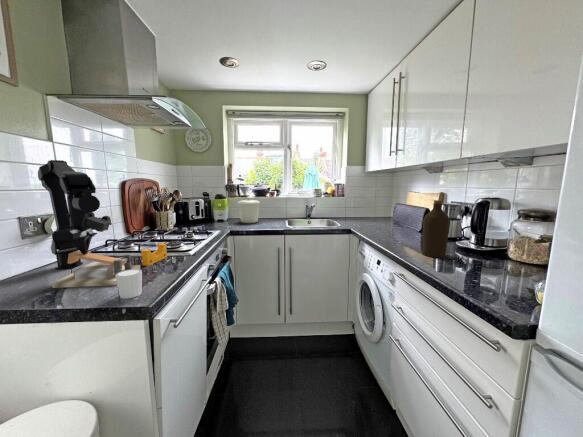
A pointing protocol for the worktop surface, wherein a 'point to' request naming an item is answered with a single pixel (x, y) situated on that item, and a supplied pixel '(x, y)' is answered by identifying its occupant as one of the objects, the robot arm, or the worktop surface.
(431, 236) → the olive oil
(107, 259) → the tan wooden bar
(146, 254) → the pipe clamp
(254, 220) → the canister
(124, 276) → the white cylinder
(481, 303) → the worktop surface
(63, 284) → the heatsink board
